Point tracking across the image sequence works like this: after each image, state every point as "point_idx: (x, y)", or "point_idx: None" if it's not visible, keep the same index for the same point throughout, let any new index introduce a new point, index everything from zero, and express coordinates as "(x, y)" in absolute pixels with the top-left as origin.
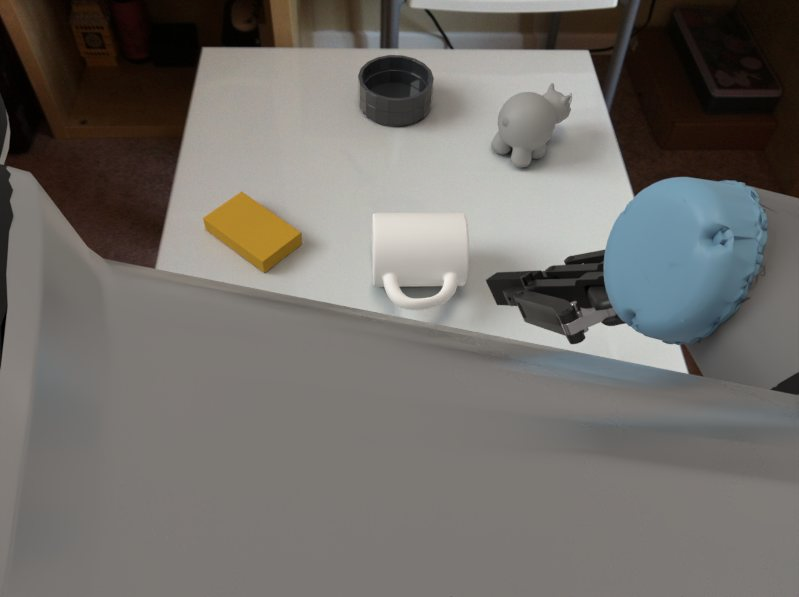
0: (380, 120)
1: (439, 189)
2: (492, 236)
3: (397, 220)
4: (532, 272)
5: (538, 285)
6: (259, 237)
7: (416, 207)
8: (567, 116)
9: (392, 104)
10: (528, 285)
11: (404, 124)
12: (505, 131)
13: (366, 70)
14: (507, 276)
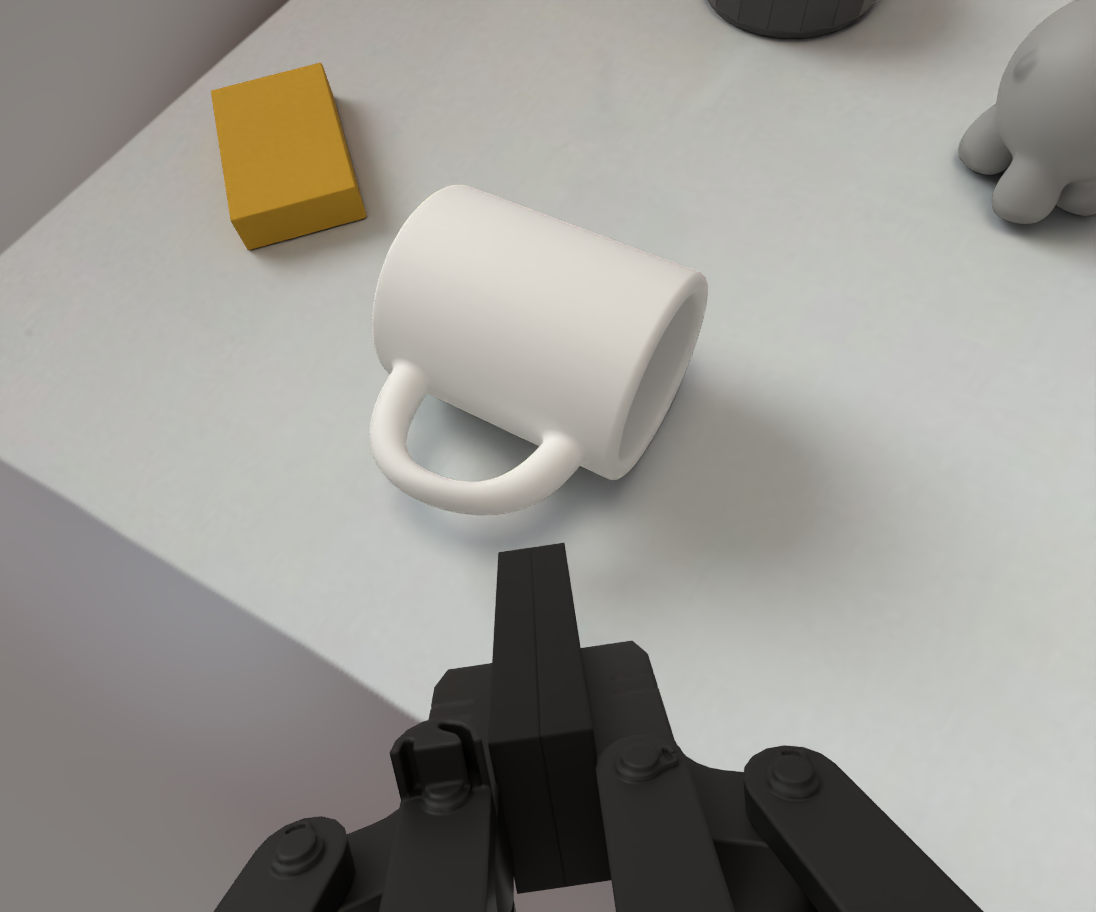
0: (724, 7)
1: (755, 205)
2: (809, 375)
3: (482, 222)
4: (566, 696)
5: (393, 902)
6: (269, 166)
7: (668, 228)
8: None
9: None
10: (411, 811)
11: (777, 33)
12: (1011, 96)
13: None
14: (523, 608)
